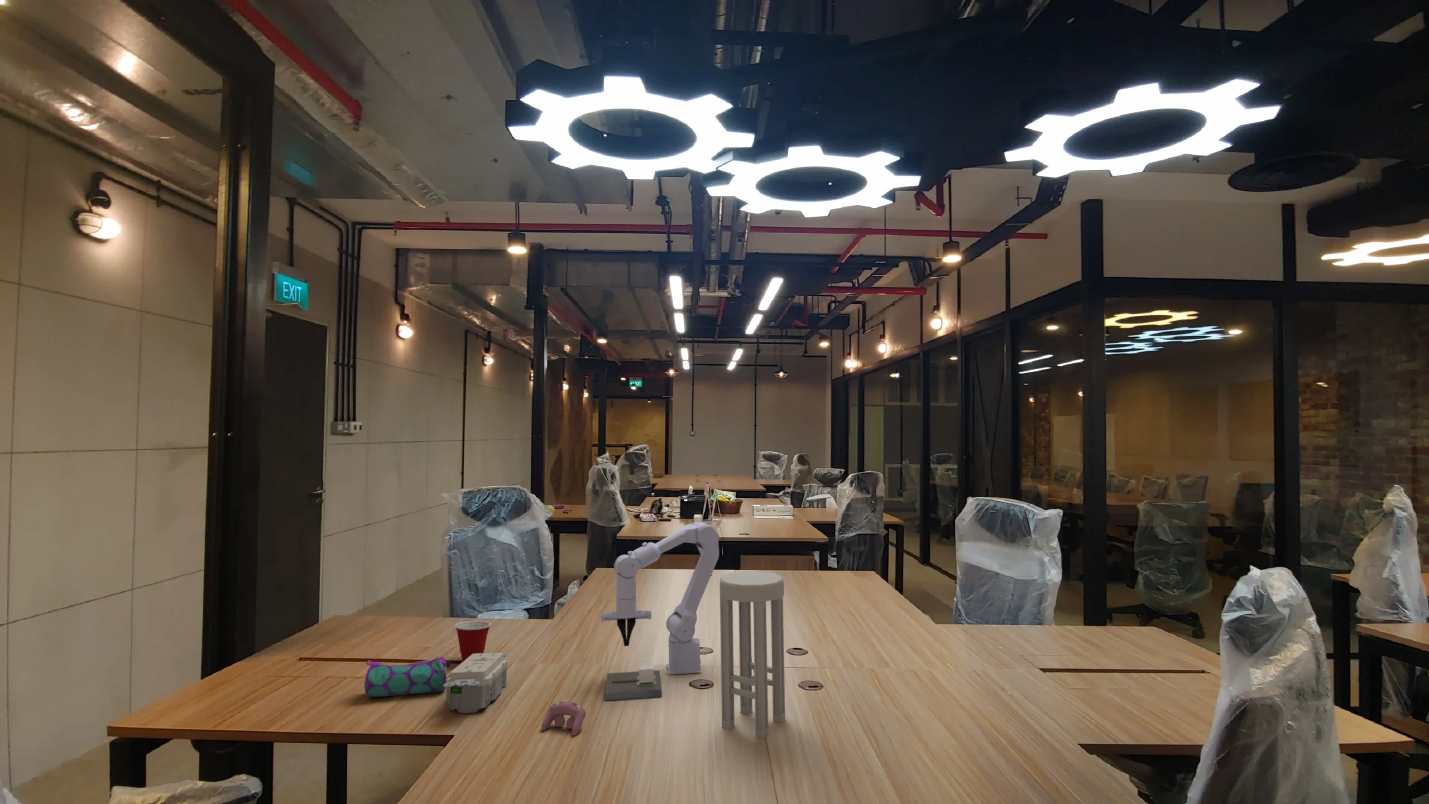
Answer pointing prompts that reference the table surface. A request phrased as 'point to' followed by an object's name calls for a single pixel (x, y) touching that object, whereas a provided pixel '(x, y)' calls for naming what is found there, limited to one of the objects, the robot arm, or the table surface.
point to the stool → (758, 591)
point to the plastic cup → (472, 637)
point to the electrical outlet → (476, 682)
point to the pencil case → (406, 678)
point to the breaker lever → (646, 672)
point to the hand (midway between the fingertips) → (626, 644)
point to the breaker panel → (631, 686)
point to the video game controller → (565, 708)
